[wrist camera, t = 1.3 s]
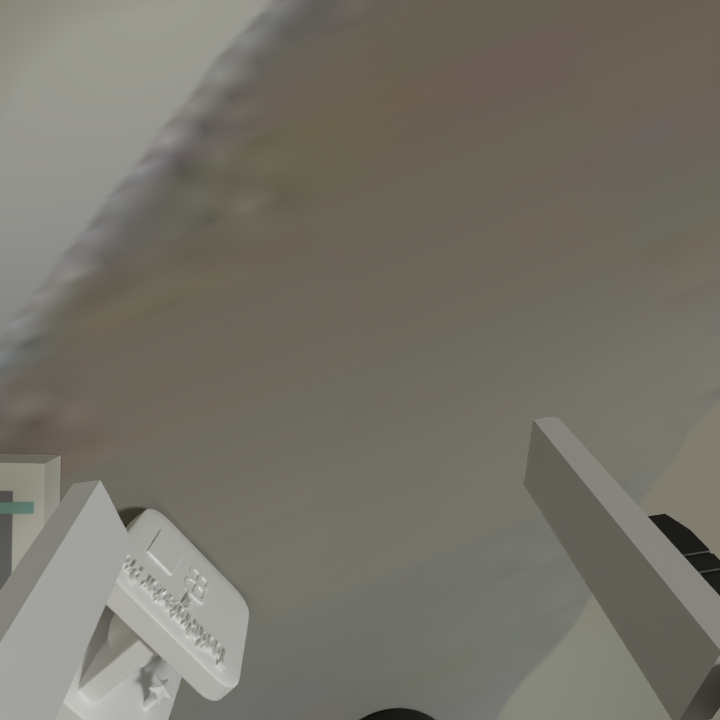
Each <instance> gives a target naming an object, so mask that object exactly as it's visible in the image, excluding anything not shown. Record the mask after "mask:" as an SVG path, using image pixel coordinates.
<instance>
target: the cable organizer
mask: <svg viewBox="0 0 720 720" xmlns="http://www.w3.org/2000/svg"><path fill="white" fill-rule="evenodd" d="M126 530H127V532H128V534H129V536H130V538H131V540H132V542H133V543H132V546H131V548H130V550H129V553H128V555H127V557H126V559H125V562H124V564H123V566H122V569H121V571H120V573H119V575H118V578H117V580H116V582H115V585H114V587H113V589H112V592H111V594H110V596H109V598H108V601H107V603H106V605H105V608H104V610H103V612H102V614H101V617H100V619H99V621H98V624H97V626H96V628H95V630H94V633H93V635H92V637H91V640H90V642H89V644H88V646H87V649H86V651H85V653H84V656H83V658H82V660H81V662H80V665H79V667H78V669H77V672H76V674H75V676H74V678H73V681H72V683H71V685H70V688H69V690H68V692H67V694H66V697H65V699H64V701H63V704H62V706H61V708H60V710H59V713H58V715H57V717H56V720H168V719H169V716H170V713H171V710H172V707H173V704H174V700H175V697H176V694H177V691H178V688H179V685H180V682H181V678H182V677H183V678H184V679H185V680H186V681H187V682H188V683H189V684H190V685H191V686H192V687H193V688H194V689H195V690H196V691H197V692H198V693H199V694H201V695H202V696H203V697H205V698H207V699H209V700H212V701H218V700H220V699H221V698H223V697H224V696H225V695H226V694H227V693H228V692H230V691H231V690H232V689H233V688H234V687H235V686H236V685H237V684H238V682H239V678H240V672H241V665H242V659H243V652H244V646H245V639H246V633H247V626H248V620H249V611H248V608H247V605H246V603H245V601H244V599H243V598H242V596H241V595H240V593H239V592H238V591H237V590H236V589H235V588H234V587H233V586H232V585H231V584H230V583H229V581H228V580H227V579H226V578H225V577H224V576H223V575H222V574H221V573H220V572H219V571H218V570H217V569H216V568H215V567H214V566H213V565H212V564H211V563H210V562H209V561H208V560H207V559H206V558H205V557H204V556H203V555H202V554H201V553H200V551H199V550H198V549H197V548H196V547H195V546H194V545H193V544H192V543H191V542H190V541H189V540H188V539H187V538H186V537H185V536H184V535H183V534H182V533H181V532H180V531H179V530H178V529H177V528H176V527H175V526H174V525H173V524H172V522H171V521H170V520H169V519H168V518H166V517H165V516H164V515H163V514H161V513H160V512H158V511H156V510H154V509H146V510H144V511H143V512H142V513H141V514H140V515H138V516H137V517H136V518H135V519H133V520H132V521H131V522H130V523H129V525H128V526H127V527H126Z"/></svg>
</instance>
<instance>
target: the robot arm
mask: <svg viewBox="0 0 720 720" xmlns="http://www.w3.org/2000/svg"><path fill="white" fill-rule="evenodd" d="M524 486H525V487H526V489H527V490H528V492H529V493H530V495H531V497H532V498H533V500H534V501H535V503H536V505H537V506H538V508H539V509H540V511H541V513H542V514H543V516H544V517H545V519H546V520H547V522H548V524H549V525H550V527H551V528H552V530H553V532H554V533H555V535H556V536H557V538H558V539H559V541H560V543H561V544H562V546H563V547H564V549H565V551H566V552H567V554H568V555H569V557H570V559H571V560H572V562H573V563H574V565H575V566H576V568H577V570H578V571H579V573H580V574H581V576H582V578H583V579H584V581H585V582H586V584H587V586H588V587H589V589H590V590H591V592H592V593H593V595H594V597H595V598H596V600H597V601H598V603H599V604H600V606H601V608H602V609H603V611H604V612H605V614H606V616H607V617H608V619H609V620H610V622H611V623H612V625H613V627H614V628H615V630H616V632H617V633H618V635H619V636H620V638H621V639H622V641H623V642H624V644H625V645H626V647H627V649H628V650H629V652H630V654H631V655H632V657H633V658H634V660H635V662H636V663H637V665H638V666H639V668H640V670H641V671H642V673H643V674H644V676H645V678H646V679H647V681H648V682H649V684H650V685H651V687H652V689H653V690H654V692H655V693H656V695H657V697H658V698H659V700H660V701H661V703H662V704H663V706H664V708H665V709H666V711H667V712H668V714H669V716H670V717H671V719H672V720H709V719H712V718H713V716H714V715H715V713H716V712H717V711H718V709H719V708H720V560H719V559H718V558H717V557H716V556H715V555H714V554H711V553H710V551H709V549H708V548H707V547H706V546H705V545H704V544H703V543H702V542H701V541H700V540H699V539H698V538H697V537H696V536H695V534H694V533H693V532H692V531H691V530H690V529H688V528H686V527H685V526H683V525H682V524H680V523H679V522H677V521H675V520H674V519H672V518H671V517H669V516H668V515H666V514H661V515H655V516H647V515H646V514H645V513H644V512H643V511H642V510H641V509H640V507H639V506H638V505H637V504H636V503H635V502H634V501H633V500H632V499H631V498H630V496H629V495H628V494H627V493H626V492H625V491H624V490H623V489H622V488H621V487H620V485H619V484H618V483H617V482H616V481H615V480H614V479H613V478H612V477H611V475H610V474H609V473H608V472H607V471H606V470H605V469H604V468H603V467H602V466H601V464H600V463H599V462H598V461H597V460H596V459H595V458H594V457H593V456H592V455H591V453H590V452H589V451H588V450H587V449H586V448H585V447H584V446H583V445H582V444H581V442H580V441H579V440H578V439H577V438H576V437H575V436H574V435H573V434H572V432H571V431H570V430H569V429H568V428H567V427H566V426H565V425H564V424H563V423H562V421H561V420H560V419H559V418H558V417H557V416H556V417H549V418H542V419H535V420H533V425H532V432H531V439H530V446H529V452H528V459H527V466H526V473H525V480H524ZM132 543H133V542H132V540H131V538H130V536H129V534H128V532H127V530H126V528H125V526H124V525H123V523H122V521H121V519H120V517H119V515H118V513H117V511H116V509H115V507H114V505H113V503H112V502H111V500H110V498H109V496H108V494H107V492H106V490H105V488H104V486H103V484H102V482H101V480H97V481H90V482H82V483H75V484H73V485H72V486H71V488H70V489H69V491H68V492H67V494H66V495H65V497H64V498H63V499H62V501H61V502H60V504H59V505H58V507H57V508H56V510H55V511H54V513H53V514H52V515H51V517H50V518H49V520H48V521H47V523H46V524H45V526H44V527H43V529H42V530H41V532H40V533H39V534H38V536H37V537H36V539H35V540H34V542H33V543H32V545H31V546H30V548H29V549H28V550H27V552H26V553H25V555H24V556H23V558H22V559H21V561H20V562H19V564H18V565H17V566H16V568H15V569H14V571H13V572H12V574H11V575H10V577H9V578H8V580H7V581H6V582H5V584H4V585H3V587H2V588H1V590H0V720H56V717H57V715H58V713H59V710H60V708H61V706H62V704H63V701H64V699H65V697H66V694H67V692H68V690H69V688H70V685H71V683H72V681H73V678H74V676H75V674H76V672H77V669H78V667H79V665H80V662H81V660H82V658H83V656H84V653H85V651H86V649H87V646H88V644H89V642H90V640H91V637H92V635H93V633H94V630H95V628H96V626H97V624H98V621H99V619H100V617H101V614H102V612H103V610H104V608H105V605H106V603H107V601H108V598H109V596H110V594H111V592H112V589H113V587H114V585H115V582H116V580H117V578H118V575H119V573H120V571H121V569H122V566H123V564H124V562H125V559H126V557H127V555H128V553H129V550H130V548H131V546H132ZM364 720H435V719H433V718H432V717H430V716H428V715H426V714H424V713H421V712H418V711H414V710H408V709H394V710H388V711H383V712H380V713H377V714H374V715H372V716H370V717H368V718H366V719H364Z"/></svg>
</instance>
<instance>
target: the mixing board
mask: <svg viewBox="0 0 720 720" xmlns="http://www.w3.org/2000/svg"><path fill="white" fill-rule="evenodd" d="M60 469H61V455H40V454H0V590H1V588H2V587H3V585H4V584H5V582H6V581H7V580H8V578H9V577H10V575H11V574H12V572H13V571H14V569H15V568H16V566H17V565H18V564H19V562H20V561H21V559H22V558H23V556H24V555H25V553H26V552H27V550H28V549H29V548H30V546H31V545H32V543H33V542H34V540H35V539H36V537H37V536H38V534H39V533H40V532H41V530H42V529H43V527H44V526H45V524H46V523H47V521H48V520H49V518H50V517H51V515H52V514H53V513H54V511H55V510H56V508H57V507H58V505H59V504H60Z"/></svg>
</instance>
